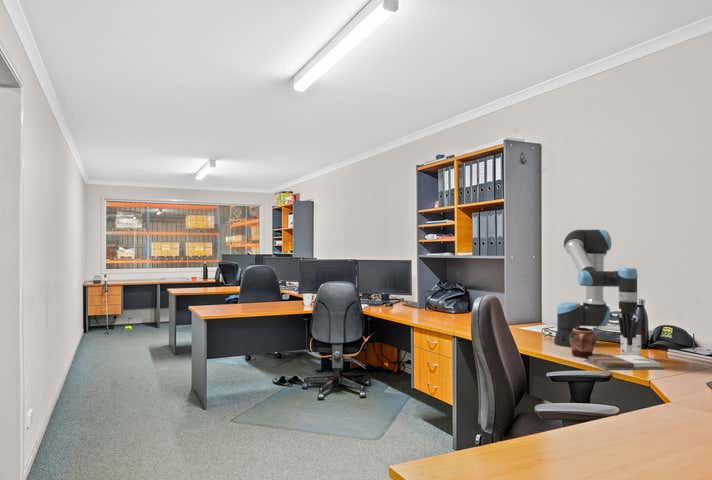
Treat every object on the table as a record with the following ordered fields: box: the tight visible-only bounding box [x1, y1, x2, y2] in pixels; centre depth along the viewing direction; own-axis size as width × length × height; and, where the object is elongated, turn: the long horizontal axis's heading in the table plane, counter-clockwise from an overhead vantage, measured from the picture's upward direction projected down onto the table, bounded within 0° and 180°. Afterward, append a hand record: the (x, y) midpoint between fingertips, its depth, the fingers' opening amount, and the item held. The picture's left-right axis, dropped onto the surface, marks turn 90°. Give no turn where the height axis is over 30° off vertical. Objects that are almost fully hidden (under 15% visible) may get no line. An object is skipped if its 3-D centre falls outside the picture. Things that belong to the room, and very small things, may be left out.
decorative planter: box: [569, 327, 597, 359], centre depth 238 cm, size 20×12×14 cm, turn 156°
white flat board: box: [613, 354, 660, 367], centre depth 221 cm, size 15×12×2 cm
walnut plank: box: [587, 355, 633, 368], centre depth 220 cm, size 15×12×2 cm
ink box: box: [620, 334, 642, 356], centre depth 235 cm, size 9×5×12 cm, turn 53°
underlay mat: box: [583, 359, 665, 371], centre depth 221 cm, size 17×28×1 cm, turn 94°
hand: (628, 351), depth 221 cm, fingers closed
